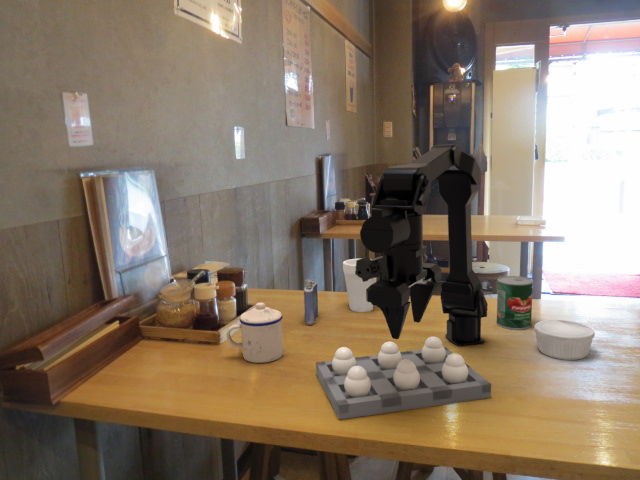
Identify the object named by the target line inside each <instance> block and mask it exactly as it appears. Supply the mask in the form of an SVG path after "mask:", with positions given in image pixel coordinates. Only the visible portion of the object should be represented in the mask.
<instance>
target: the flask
mask: <svg viewBox="0 0 640 480" xmlns="http://www.w3.org/2000/svg"><path fill="white" fill-rule="evenodd" d="M304 282H305V283H306V285H305V286H304V287H303V288H304V289H303V301H304V302H303V304H304V324H305V325H306V326H309V327H310V326H313V325H315V323H316V321H317V319H318V317H319V307H318V305H319V304H318V303H319V300H318V296H319V295H318V283H317V282H315V281H314V280H311V279H305V281H304Z"/></svg>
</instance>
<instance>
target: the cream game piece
mask: <svg viewBox="0 0 640 480" xmlns="http://www.w3.org/2000/svg"><path fill="white" fill-rule="evenodd" d="M393 380H394V383H395V385H396V386H397V387H398V388H399V392H402V391H409V390H415V389H416V388H417V386H418V385H419V382H420V375H419V372H418V371H417V369H416V366H415V364H414V363H413V362H412V361H411V360H408V359H404V360H402V361H400V362H399V363H398V365H397V369H396V370H395V372H394V375H393Z"/></svg>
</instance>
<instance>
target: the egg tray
mask: <svg viewBox="0 0 640 480" xmlns="http://www.w3.org/2000/svg"><path fill="white" fill-rule="evenodd" d="M424 341H425V342H424V345H423V346H422V348H421V349H413V350H407V351H400V349H399V347H398V345H397V344H396V343H395V342H393V341H386V342H384V343H383V344H382V345H381V347H380V351H379V352H378V354H375V355H374V354H373V355H365V356H359V357H358V356H357V357H356V356H354V354H353V352H352V349H350V348H348V347H347V346H342V347H339V348H337V350H336V351H335V354H334V357H333V358H332V360H325V361H324V360H323V361H317V362H315V367H316V368H315V370H316V376H317V378H318V381H319V382H320V385H321V386H322V388H323V390H324V393H325V395H326V396H327V398H328V400H329V402H330V404H331V406H332V409H333V411H334V413H335V415H336V416H337V418H338V420H339V421H341V420H346V419H348V420H349V419H354V418H359V417H360V418H361V417H367V416H373V415H380V414H389V413H396V412H401V411H409V410H414V409H423V408H428V407H436V406H441V405H442V406H443V405H448V404H456V403H463V402H468V401H476V400H483V399H490V398H491V397H492V383H491V382H490V381H488V380H487V379H486V378H485V377H483V376H482V375H481V374H479V373H478V372H477V371H476V370H475V369H473V368H472V367H471V366H470V365H468V364H467V363H466V362H465V359H464V357H463V356H462V355H461V354H459V353H454V352H452V351H451V350H450V348H447V347H446V346H444V345H443V342H442V340H441V339H440V338H439V337H438V336H433V335H432V336H429V337H428V338H427V339H426V340H424ZM404 359H408V360H411V361H412V362H413V363H414V364H415V366H416V369H417V371H418V372H419V375H420V382H419V385H418V386H417V388H416V389H415V390H409V391H402V392H399V388H398V387H397V386H396V385H395V383H394V380H393V375H394V372H395V370H396V369H397V365H398V363H399V362H400V361H402V360H404Z"/></svg>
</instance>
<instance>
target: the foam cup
mask: <svg viewBox="0 0 640 480" xmlns="http://www.w3.org/2000/svg"><path fill="white" fill-rule="evenodd" d="M359 259H362V258H360V257H359V258H352V259H351V258H350V259H346V260H344V261H343V262H342V272H343V274H344V280H345V286H346V287H345V288H346V293H347V299H348V306H349V309H350V311H352V312H356V313H367V312H368V313H369V312H371V311H372V310H374V306H375V305H372V304H371V302H367V301H366V289H367V288H368V287H369V286H370V285H372V284H373V283H375V282H377V278H378V277H375V278H372V279H369V280H368V281H365V282H363V281H362V278H360V277H358V275H356V274H355V271H356V267H355V266H356V261H357V260H359Z"/></svg>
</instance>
